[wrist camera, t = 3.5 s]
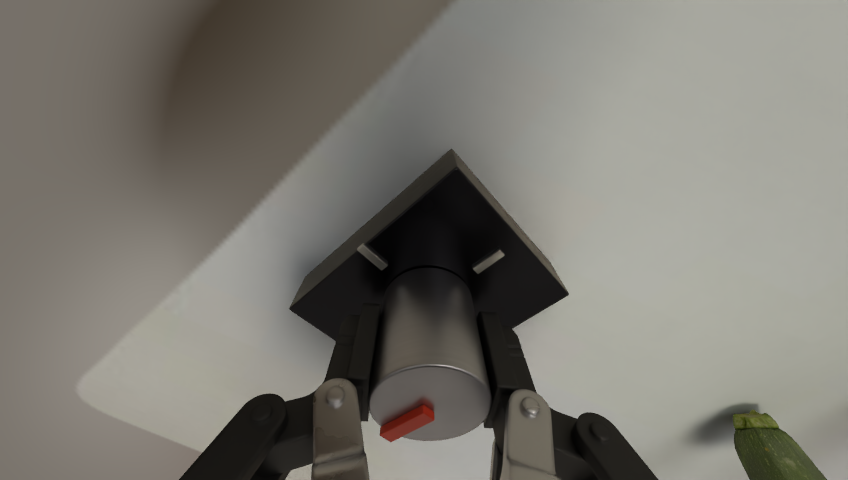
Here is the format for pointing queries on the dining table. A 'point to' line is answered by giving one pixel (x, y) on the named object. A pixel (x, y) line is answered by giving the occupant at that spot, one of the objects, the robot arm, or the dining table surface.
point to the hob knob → (428, 360)
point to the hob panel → (434, 253)
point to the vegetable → (770, 450)
